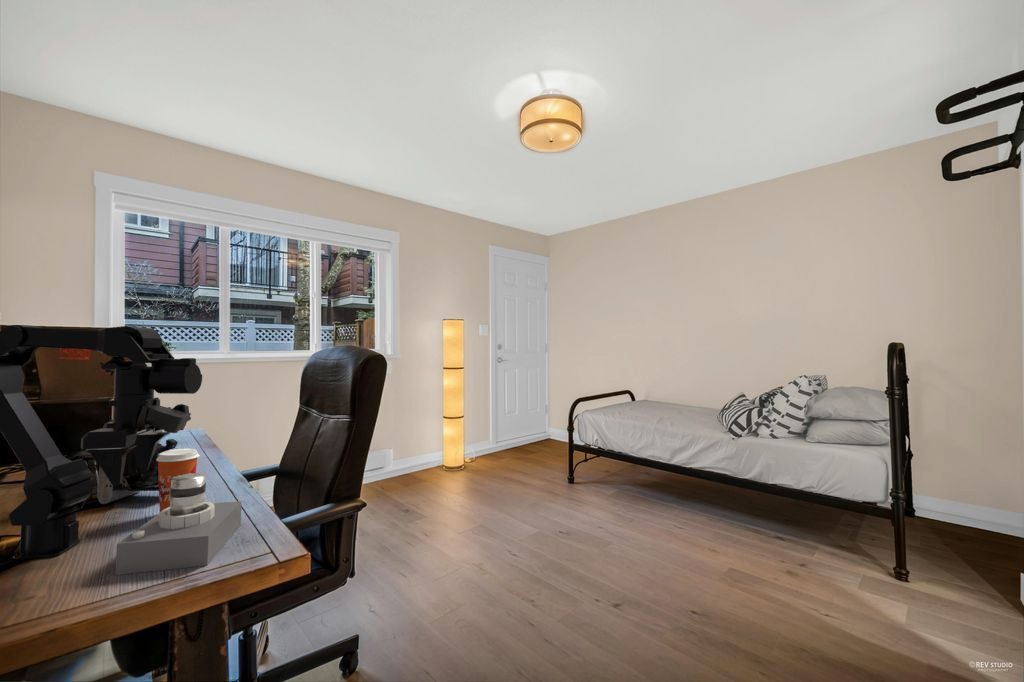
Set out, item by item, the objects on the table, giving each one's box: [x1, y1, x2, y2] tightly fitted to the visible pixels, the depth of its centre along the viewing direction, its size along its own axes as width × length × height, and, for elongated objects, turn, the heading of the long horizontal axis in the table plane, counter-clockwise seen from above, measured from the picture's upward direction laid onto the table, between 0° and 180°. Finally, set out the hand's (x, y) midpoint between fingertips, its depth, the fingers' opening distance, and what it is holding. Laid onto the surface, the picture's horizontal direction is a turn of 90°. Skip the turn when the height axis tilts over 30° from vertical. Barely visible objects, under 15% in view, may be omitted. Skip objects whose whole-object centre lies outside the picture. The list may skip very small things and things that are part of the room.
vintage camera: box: [96, 418, 179, 505], centre depth 108 cm, size 10×16×20 cm, turn 89°
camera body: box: [115, 500, 242, 576], centre depth 82 cm, size 13×18×7 cm
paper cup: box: [156, 448, 201, 513], centre depth 98 cm, size 8×8×14 cm
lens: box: [170, 472, 207, 516], centre depth 82 cm, size 5×5×8 cm
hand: (131, 477), depth 81 cm, fingers open, 9 cm apart
